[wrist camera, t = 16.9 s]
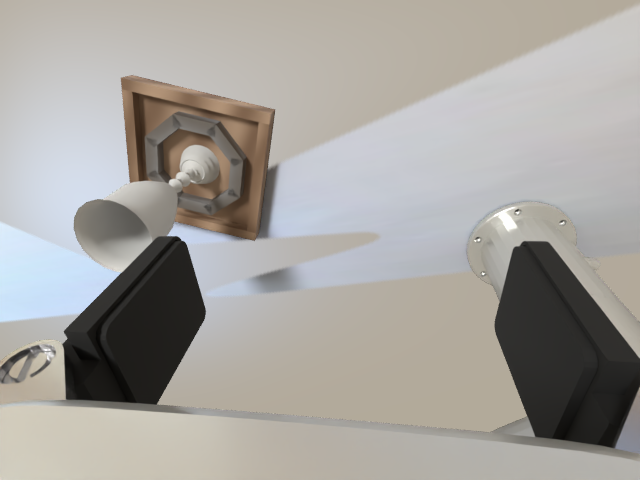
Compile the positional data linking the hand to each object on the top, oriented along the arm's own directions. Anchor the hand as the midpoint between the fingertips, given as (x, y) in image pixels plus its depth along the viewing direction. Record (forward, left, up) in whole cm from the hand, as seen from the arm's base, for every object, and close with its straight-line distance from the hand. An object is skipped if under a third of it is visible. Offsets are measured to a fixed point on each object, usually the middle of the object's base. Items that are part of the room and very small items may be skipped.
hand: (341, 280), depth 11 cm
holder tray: (+18, +13, -34) cm, 41 cm away
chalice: (+18, +13, -34) cm, 40 cm away
